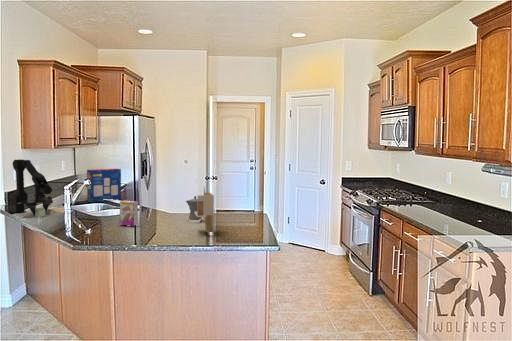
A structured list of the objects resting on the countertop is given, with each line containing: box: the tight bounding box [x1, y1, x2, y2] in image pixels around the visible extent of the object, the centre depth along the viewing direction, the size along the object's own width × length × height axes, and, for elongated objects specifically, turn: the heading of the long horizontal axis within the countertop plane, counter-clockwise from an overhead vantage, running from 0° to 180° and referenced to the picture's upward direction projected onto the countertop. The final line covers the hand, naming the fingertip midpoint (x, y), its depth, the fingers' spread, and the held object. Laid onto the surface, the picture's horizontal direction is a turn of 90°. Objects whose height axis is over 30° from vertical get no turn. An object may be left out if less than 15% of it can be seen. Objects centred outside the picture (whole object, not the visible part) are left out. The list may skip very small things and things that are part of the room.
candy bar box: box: [119, 200, 139, 226], centre depth 280 cm, size 11×5×16 cm, turn 71°
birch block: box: [45, 206, 65, 216], centre depth 319 cm, size 10×10×4 cm
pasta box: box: [86, 168, 122, 203], centre depth 384 cm, size 28×8×28 cm, turn 135°
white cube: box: [30, 206, 43, 215], centre depth 315 cm, size 5×5×5 cm
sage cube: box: [34, 208, 46, 218], centre depth 307 cm, size 5×5×5 cm
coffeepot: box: [185, 195, 202, 220], centre depth 300 cm, size 15×9×18 cm, turn 107°
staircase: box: [194, 186, 215, 234], centre depth 265 cm, size 10×16×29 cm, turn 16°
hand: (39, 214), depth 307 cm, fingers open, 9 cm apart
